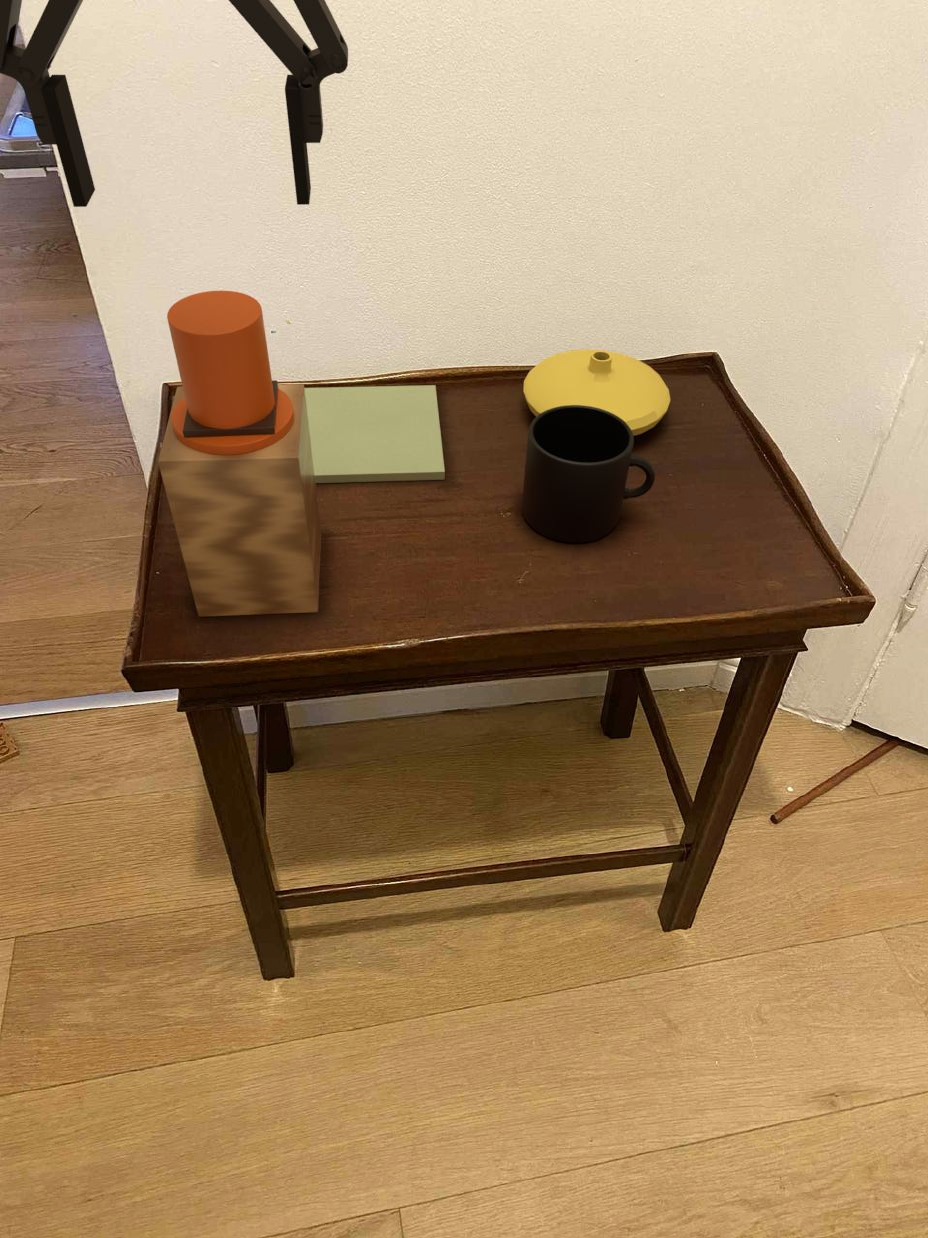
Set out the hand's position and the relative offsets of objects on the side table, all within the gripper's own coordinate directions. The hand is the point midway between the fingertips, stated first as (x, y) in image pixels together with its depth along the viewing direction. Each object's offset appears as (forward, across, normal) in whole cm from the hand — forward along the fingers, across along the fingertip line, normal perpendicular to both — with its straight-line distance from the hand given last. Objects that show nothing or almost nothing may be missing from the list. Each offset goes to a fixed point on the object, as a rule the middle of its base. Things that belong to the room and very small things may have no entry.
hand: (195, 197), depth 57 cm
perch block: (+32, 0, 0) cm, 32 cm away
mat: (+32, +8, +21) cm, 39 cm away
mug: (+33, +30, +7) cm, 45 cm away
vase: (+33, +34, +24) cm, 53 cm away
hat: (+16, 0, 0) cm, 16 cm away
